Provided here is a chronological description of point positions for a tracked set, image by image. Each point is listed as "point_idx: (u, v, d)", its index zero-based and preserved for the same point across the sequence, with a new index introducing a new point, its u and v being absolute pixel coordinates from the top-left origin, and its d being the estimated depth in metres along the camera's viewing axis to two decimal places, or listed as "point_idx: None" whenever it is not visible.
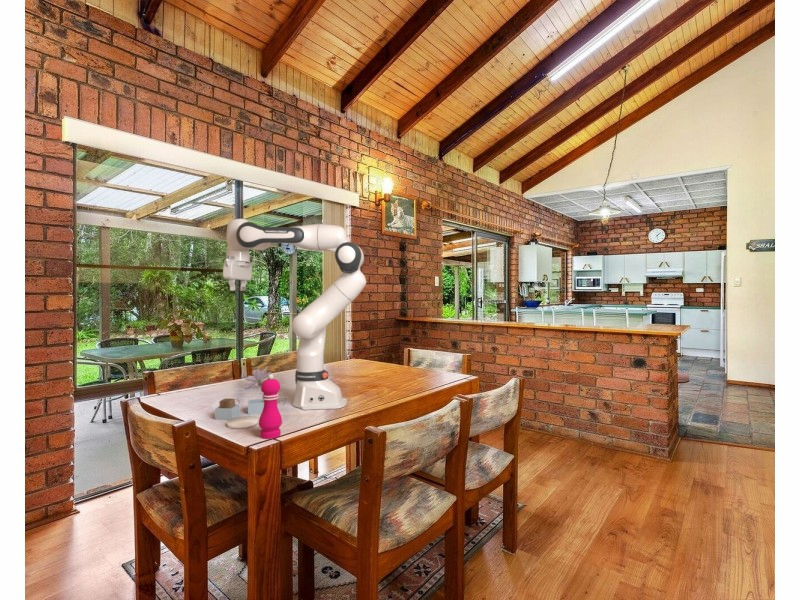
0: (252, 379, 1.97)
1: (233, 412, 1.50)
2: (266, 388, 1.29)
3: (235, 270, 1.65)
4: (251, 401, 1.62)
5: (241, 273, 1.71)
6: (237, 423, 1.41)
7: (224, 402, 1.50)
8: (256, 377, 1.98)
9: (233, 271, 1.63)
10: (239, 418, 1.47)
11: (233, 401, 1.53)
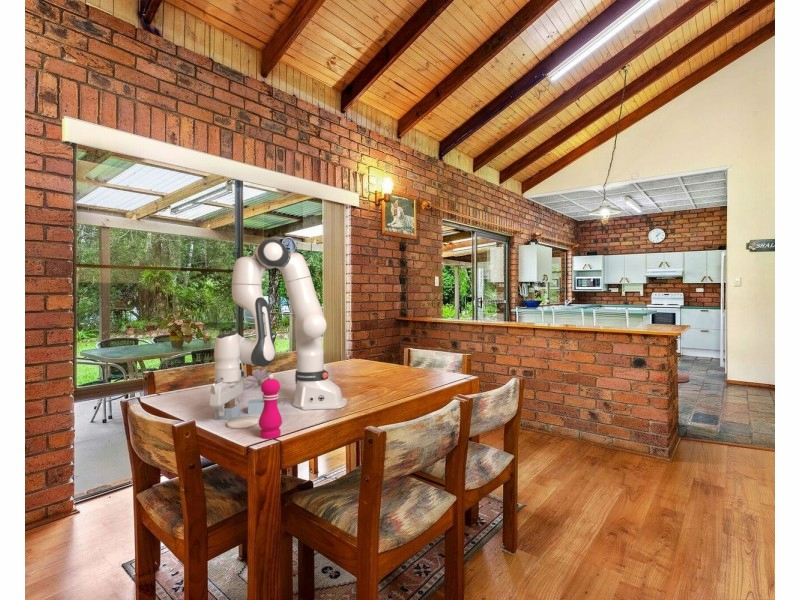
0: (252, 379, 1.97)
1: (233, 412, 1.50)
2: (266, 388, 1.29)
3: (223, 395, 1.46)
4: (251, 401, 1.62)
5: (230, 393, 1.51)
6: (237, 423, 1.41)
7: None
8: (256, 377, 1.98)
9: (221, 398, 1.44)
10: (239, 418, 1.47)
11: (233, 401, 1.53)
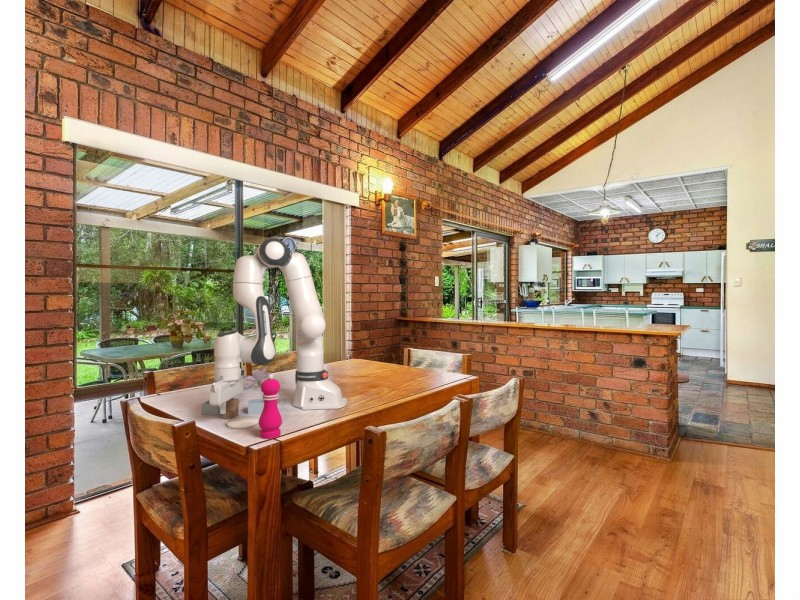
0: (251, 379, 1.97)
1: None
2: (266, 388, 1.29)
3: (223, 393, 1.46)
4: (251, 401, 1.62)
5: (230, 392, 1.51)
6: (237, 423, 1.41)
7: (228, 402, 1.50)
8: (255, 377, 1.98)
9: (221, 397, 1.44)
10: (239, 418, 1.47)
11: (237, 401, 1.53)
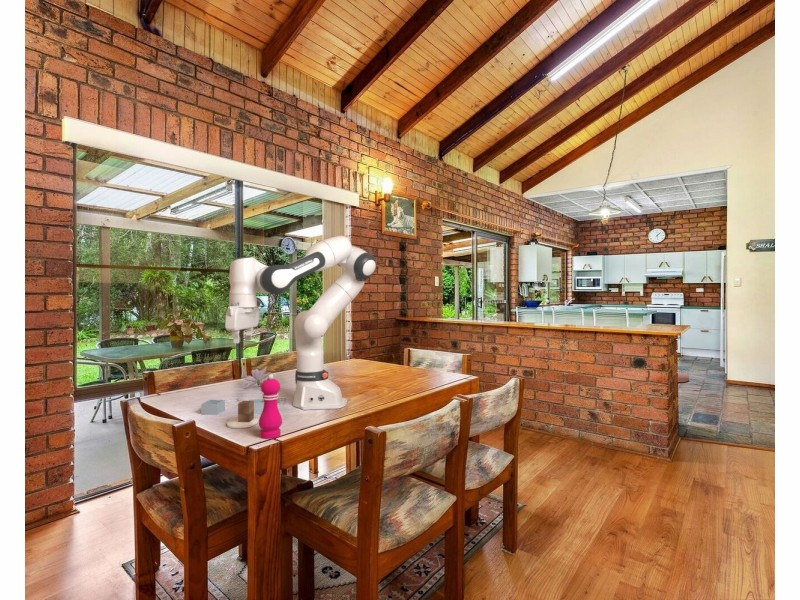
0: (251, 379, 1.97)
1: (219, 407, 1.57)
2: (266, 388, 1.29)
3: (240, 319, 1.38)
4: None
5: (246, 320, 1.43)
6: (237, 423, 1.41)
7: (243, 404, 1.42)
8: (255, 377, 1.98)
9: (237, 322, 1.35)
10: None
11: (252, 403, 1.45)
